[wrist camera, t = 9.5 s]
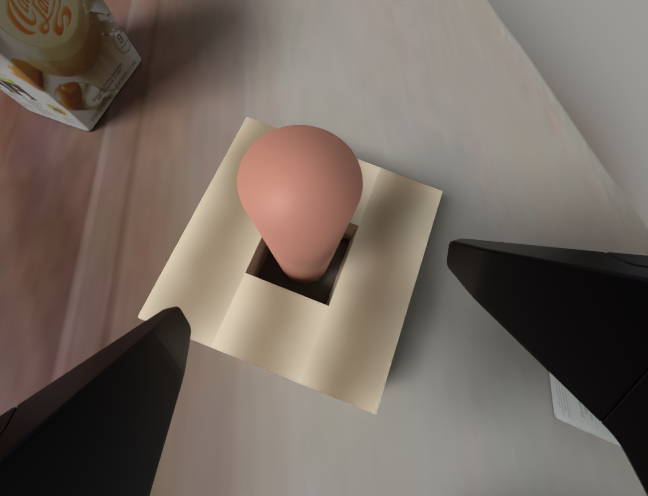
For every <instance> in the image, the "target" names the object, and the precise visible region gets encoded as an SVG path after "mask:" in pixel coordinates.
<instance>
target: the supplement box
mask: <svg viewBox="0 0 648 496" xmlns="http://www.w3.org/2000/svg"><path fill="white" fill-rule="evenodd" d="M549 377H550V385H551V393H552V403H553V409H554V415H555V417H556V418H557V419H558V420H561V421H563V422H565V423H567V424H570V425H572V426H574V427H576V428H579V429H581V430H583V431H585V432H588V433H590V434H592V435H594V436H597V437H599V438H601V439H604V440H606V441H608V442H611V443H613V444H615V445H618V446H620V444H619V443H618V441H617V440H616V439H615V437H614V436H613V435H612V434H611V433H610V431H609V430H608V429H607V428H606V427H605V426H604V425H603V424H602V421H599V420H598V419H597V418H596V417H595V416H594V415H593V414H592V413H591V412H590V411H589V410H588V409H587V408H586V407H585V406H584V405H583V404H582V403H580V402H579V401H578V400H577V399H576V398H575V397H574V396H573V395H572V394H571V393H570V392H569V391H568V390H567V389H566V388H565V387H564V386H563V385H562V384H561V383H560V382H559V381H558V380H557V379H556V378H555V377H554V376H553V375H552V374H551V373H550V372H549ZM620 447H621V446H620Z"/></svg>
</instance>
